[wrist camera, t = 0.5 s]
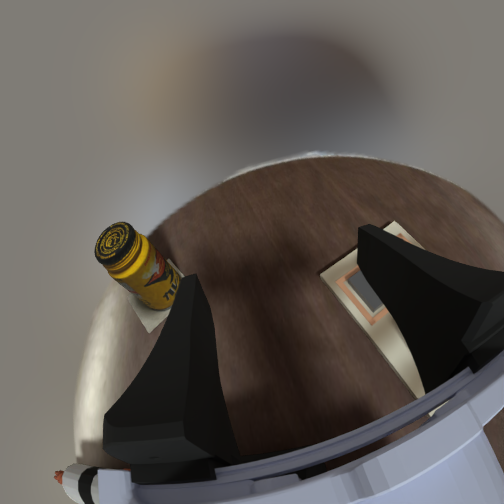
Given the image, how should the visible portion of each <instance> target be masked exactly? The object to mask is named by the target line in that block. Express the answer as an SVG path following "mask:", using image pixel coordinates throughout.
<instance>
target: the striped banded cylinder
mask: <svg viewBox="0 0 504 504" xmlns="http://www.w3.org/2000/svg"><path fill="white" fill-rule="evenodd" d="M310 446H313V445H308V446H304V447H299V448H294V449H288V450H283V451H277V452H270V453H263V454H256V455H247V456H240V457H241V460H242V462H243V463H242V464H245V463H249V462H254V461H259V460H263V459H267V458H271V457H275V456H279V455H283V454H286V453H290V452H293V451H297V450H300V449H303V448H306V447H310ZM99 469H104V468H99V467H92V466H88V465H83V464H73V465H70V466H68V467H67V468H66V470H65V471H56V472H55V474H56V475H57V476H54V478H55V479H56V480H58V482H59V483H60V484H62V485H63V487H64V490H65V492H66V494H67V495H68V497H70V498H71V499H72V500H73V501H75V502H77V503H79V504H99V491H98V470H99ZM108 469H109V468H108ZM123 470H128V471H131V469H125V468H123ZM325 472H327V469H326V466H325V463H324V462H323V463H320V464H317V465H314V466H311V467H308V468H304V469H301V470H298V471H294V472H291V473H287V474H283V475H279V476H275V477H280V476H285V475H290V474H297V475H298V478H300V479H301V480H305V479H308V478H311V477H314V476H317V475H320V474H322V473H325ZM271 478H274V477H271ZM267 479H268V478H267ZM262 480H263V479H262Z"/></svg>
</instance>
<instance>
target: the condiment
mask: <svg viewBox="0 0 504 504" xmlns="http://www.w3.org/2000/svg"><path fill="white" fill-rule="evenodd" d="M95 257H96V258H97V260H98V262H99V263H101V264H103V266H104V267H105V268H106V269H107V271H108V273H109V275H110V276H111V277H112V278H113V279H114V280H116V281H117V282H118V283H119V284H120V285H122V286H123V287H124V288H126V289H127V290H128V291H129V292H131V294H130V295H129V296H128V297H127V299H128V301H129V302H130V304H131V306H132V307H133V309H134V310H135V312H136V313H137V315H138V317H139V318H140V320H141V321H142V323H143V325H144V326H145V328H146V329H147V331H148V332H149V333H150V332H151V331H152V330H153V329H154V328H155V327H157V326H158V324H159V323H160V322H162V321H163V320H164V319H165V318H166V317H167V316H168V315H169V312H170V309H171V307H172V304H173V301H174V299H175V296H176V293H177V290H178V287H179V283H180V280H181V279H182V277H185V276H184V275H183V274H182V273H181V272H180V271H179V269H178V268H177V267H176V266H175V265H174V264H173V263H172V261H171V260H170V259H168V260H166V259H165V258H164V257H163V256H162V255H161V254H160V253H159V252H158V250H157V249H156V248H155V247H154V246H153V245H152V244H151V243H150V241H149V240H148V239H147V238H146V237H145V236H144V235H142V234H139V233H138V232H137V231H136V230H134V228H133V227H132V226H131V225H130V224H129V223H126V222H118V223H115V224H112V225H111V226H109V227H108V228H107V229H106V230H104V231H103V232H102V234H101V235H100V236H99V238H98V240H97V243H96V246H95Z"/></svg>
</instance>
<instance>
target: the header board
mask: <svg viewBox="0 0 504 504" xmlns="http://www.w3.org/2000/svg"><path fill="white" fill-rule="evenodd" d="M383 230H385V231H387V232H389V233H391V234H393V235H395V236H397V237H399V238H401V239H403V240H405V241H407V242H409V243H411V244H413V245H415V246H417V247H420V248H422V249H424V248H423V247H422V246H421V245H420V244H419V243H418V242H417V241H416V240H415V239H413V238H412V237H411V236H410V235H409V234H408V233H407V232H406V231H405V230H404V229H403V228H402V227H401V226H400V225H398V224H397V223H396V222H395V221H394V222H392V223H391V224H390V225H389V226H387V227H386V228H384V229H383ZM424 250H425V249H424ZM320 279H321V280H322V281H323V282H324V284H325V285H326V286H327V287H328V289H329V290H330V291H331V292H332V293H333V295H334V296H335V297H336V298H337V300H338V301H339V302H340V303H341V304H342V306H343V307H344V308H345V309H346V311H347V312H348V313H349V314H350V316H351V317H352V318H353V319H354V321H355V322H356V323H357V324H358V326H359V327H360V328H361V329H362V331H363V332H364V333H365V335H366V336H367V337H368V338H369V340H370V341H371V342H372V343H373V345H374V346H375V347H376V349H377V350H378V351H379V352H380V354H381V355H382V356H383V358H384V359H385V360H386V362H387V363H388V364H389V365H390V367H391V368H392V369H393V371H394V372H395V373H396V375H397V376H398V377H399V379H400V380H401V381H402V383H403V384H404V385H405V387H406V388H407V389H408V391H409V392H410V393H411V395H412V396H413V397H414V399H415V400H417V399H419V398H420V397H422V396H424V395H425V392H424V388H423V385H422V382H421V379H420V376H419V373H418V370H417V367H416V365H415V362H414V360H413V357H412V355H411V352H410V350H409V348H408V346H407V344H406V341H405V339H404V337H403V335H402V333H401V331H400V329H399V328H398V326H397V324H396V322H395V320H394V319H393V317H392V316H391V314H390V313H389V311H388V310H387V308H386V307H385V306H384V304H383V303H382V302H381V300H380V299H379V297H378V296H377V295H376V293H375V292H374V290H373V289H372V288H371V286H370V285H369V284H368V282H367V281H366V279H365V277H364V275H363V274H362V272H361V270H360V268H359V266H358V264H357V249H356V250H354V251H353V252H352V253H350V254H349V255H347V256H346V257H345V258H343V259H342V260H340V261H339V262H337V263H336V264H335V265H333V266H332V267H330V268H329V269H327V270H326V271H324V272H323V273H321V274H320ZM448 401H449V400H448ZM448 401H447V402H448ZM445 403H446V402H445ZM445 403H444V404H445ZM444 404H442V405H441V406H443V405H444ZM441 406H439V407H438V408H440V407H441ZM438 408H436V409H435V410H433V411H431V412H430V413H428V414H426V415H427V417H431V416H432V415H433V414H434V412H435V411H436V410H437V409H438Z"/></svg>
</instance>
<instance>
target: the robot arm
mask: <svg viewBox="0 0 504 504" xmlns="http://www.w3.org/2000/svg"><path fill="white" fill-rule="evenodd" d="M357 264H358V266H359V268H360V270H361V272H362V274H363V275H364V277H365V279H366V281H367V282H368V284H369V285H370V286H371V288H372V289H373V290H374V292H375V293H376V295H377V296H378V297H379V299H380V300H381V302H382V303H383V304H384V306H385V307H386V308H387V310H388V311H389V313H390V314H391V316H392V317H393V319H394V320H395V322H396V324H397V326H398V328H399V329H400V331H401V333H402V335H403V337H404V339H405V341H406V344H407V346H408V348H409V350H410V352H411V355H412V357H413V360H414V362H415V365H416V367H417V370H418V373H419V376H420V379H421V382H422V385H423V388H424V392H425V395H424V396H422V397H420V398H419V399H417V400H415V401H413V402H412V403H410V404H408V405H406V406H404V407H402V408H400V409H398V410H397V411H395V412H393V413H391V414H389V415H387V416H384V417H382V418H380V419H378V420H376V421H374V422H372V423H369V424H367V425H365V426H363V427H360V428H358V429H356V430H353V431H351V432H348V433H346V434H343V435H341V436H338V437H335V438H333V439H330V440H327V441H324V442H322V443H319V444H316V445H313V446H310V447H306V448H303V449H300V450H297V451H293V452H290V453H286V454H283V455H279V456H275V457H271V458H267V459H263V460H259V461H254V462H249V463H245V464H242V463H243V462H242V460H241V457H240V453H239V450H238V447H237V444H236V441H235V437H234V434H233V430H232V427H231V423H230V420H229V416H228V412H227V408H226V404H225V400H224V396H223V391H222V387H221V382H220V376H219V369H218V359H217V349H216V338H215V328H214V323H213V318H212V313H211V308H210V305H209V303H208V301H207V298H206V296H205V294H204V291H203V289H202V287H201V284H200V282H199V279H198V277H197V275H196V274H193V275H189V276H185V277H182V279H181V280H180V283H179V287H178V290H177V293H176V296H175V299H174V301H173V304H172V307H171V309H170V312H169V315H168V317H167V320H166V322H165V324H164V327H163V329H162V331H161V334H160V336H159V338H158V340H157V342H156V344H155V346H154V348H153V350H152V351H151V353H150V355H149V357H148V358H147V360H146V362H145V363H144V365H143V367H142V368H141V370H140V372H139V373H138V375H137V376H136V377H135V379H134V380H133V381H132V383H131V384H130V386H129V387H128V388H127V390H126V391H125V392H124V393H123V395H122V396H121V397H120V398H119V399H118V400H117V401H116V403H115V404H114V405H113V406H112V407H111V408H110V409H109V410H108V411H107V413H106V414H105V415H104V422H103V449H104V450H105V452H106V453H107V454H109V455H111V456H113V457H115V458H117V459H119V460H122V461H124V462H126V463H129V464H130V468H131V471H128V470H115V469H99V470H98V491H99V504H504V473H503V471H502V469H501V467H500V464H499V462H498V460H497V458H496V456H495V454H494V451H493V449H492V447H491V445H490V443H489V441H488V439H487V437H486V435H485V433H484V431H483V426H484V425H485V424H486V423H487V422H488V421H490V420H491V419H492V418H493V417H494V416H495V415H496V414H497V413H498V412H499V411H500V410H501V409H502V408H503V407H504V272H501V271H493V270H487V269H482V268H477V267H473V266H469V265H465V264H462V263H459V262H455V261H452V260H449V259H447V258H444V257H441V256H438V255H436V254H433V253H431V252H429V251H426V250H424V249H422V248H420V247H417V246H415V245H413V244H411V243H409V242H407V241H405V240H403V239H401V238H399V237H397V236H395V235H393V234H391V233H389V232H387V231H385V230H383V229H380V228H378V227H376V226H374V225H371V224H368V225H364V226H361V227H358V248H357ZM448 400H449V401H448ZM447 401H448V402H447ZM445 402H446V403H445ZM444 403H445V404H444ZM442 404H444V405H443V406H441V405H442ZM439 406H441V407H440V408H438V407H439ZM436 408H438V409H437V410H436V411H435V412H434V414H433V415H432V416H431V417H430V418H429V419H428V420H427V421H426V422H424V423H423V424H422V425H421V426H420V427H419V428H418V429H417V430H415V431H413V432H411V433H409V434H407V435H406V436H404V437H402V438H400V439H398V440H396V441H394V442H392V443H390V444H388V445H386V446H384V447H382V448H380V449H378V450H376V451H374V452H372V453H370V454H368V455H366V456H363V457H361V458H359V459H357V460H355V461H352V462H350V463H348V464H345V465H343V466H340V467H338V468H335V469H333V470H330V471H328V472H325V473H322V474H320V475H317V476H314V477H311V478H308V479H305V480H301V479H300V478H298V475H297V474H290V475H285V476H280V477H275V476H279V475H283V474H287V473H291V472H294V471H298V470H301V469H304V468H308V467H311V466H314V465H317V464H320V463H323V462H326V461H329V460H331V459H334V458H337V457H340V456H342V455H345V454H347V453H350V452H352V451H355V450H357V449H359V448H362V447H364V446H366V445H369V444H371V443H373V442H375V441H377V440H380V439H382V438H384V437H386V436H388V435H390V434H392V433H394V432H396V431H398V430H400V429H402V428H403V427H405V426H407V425H409V424H411V423H413V422H414V421H416V420H418V419H420V418H421V417H423V416H425V415H426V414H428V413H430V412H431V411H433V410H435V409H436ZM271 477H274V478H271ZM267 478H268V479H267ZM262 479H263V480H262Z"/></svg>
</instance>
